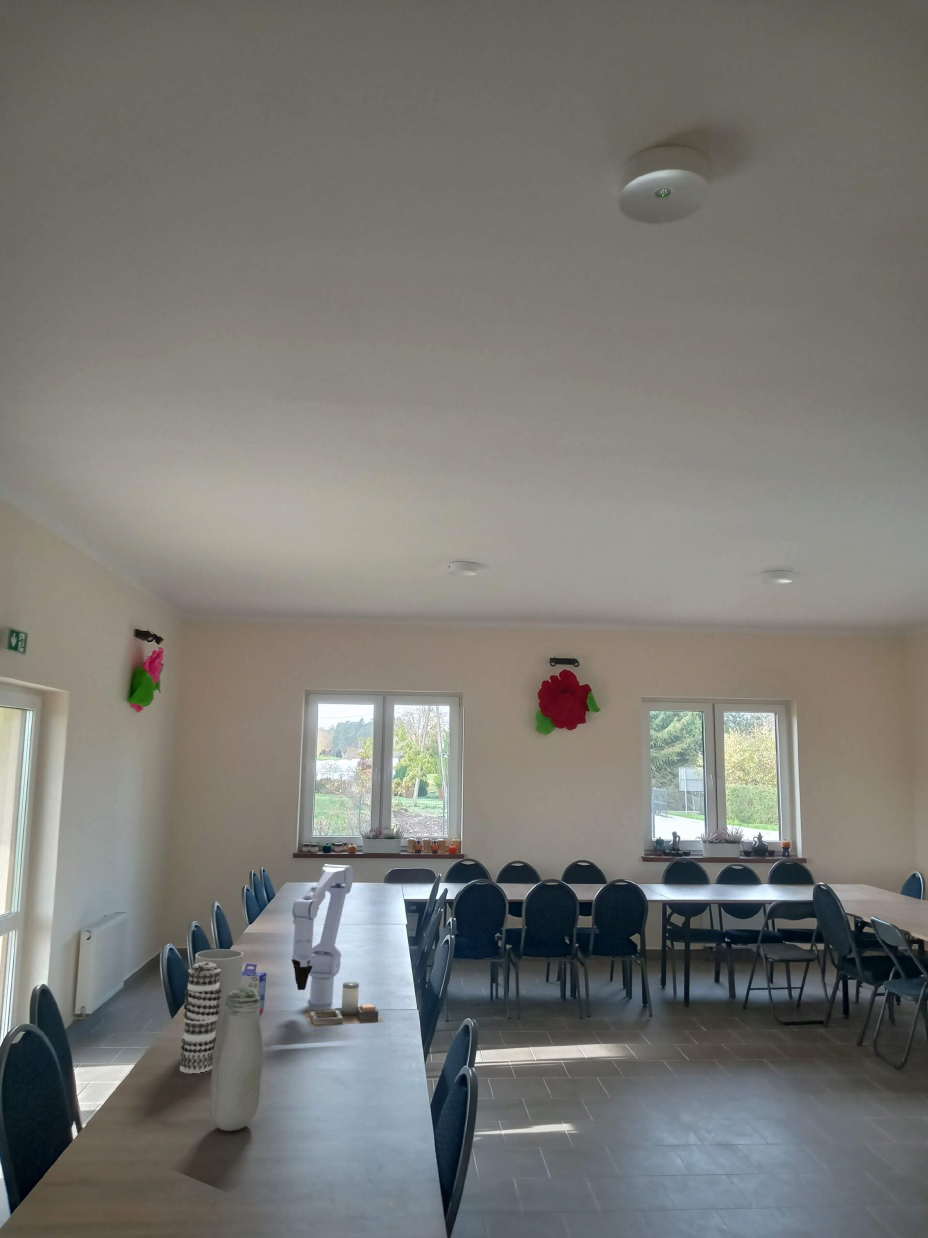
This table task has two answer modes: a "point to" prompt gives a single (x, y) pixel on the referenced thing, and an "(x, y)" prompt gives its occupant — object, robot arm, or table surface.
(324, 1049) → the table surface
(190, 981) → the decorative candle
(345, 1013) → the rubber mat
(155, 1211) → the table surface
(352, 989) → the cylinder
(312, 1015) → the base board
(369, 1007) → the peach square block
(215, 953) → the cylinder vase
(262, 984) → the ink cartridge box
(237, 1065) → the glass bottle
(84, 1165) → the table surface
